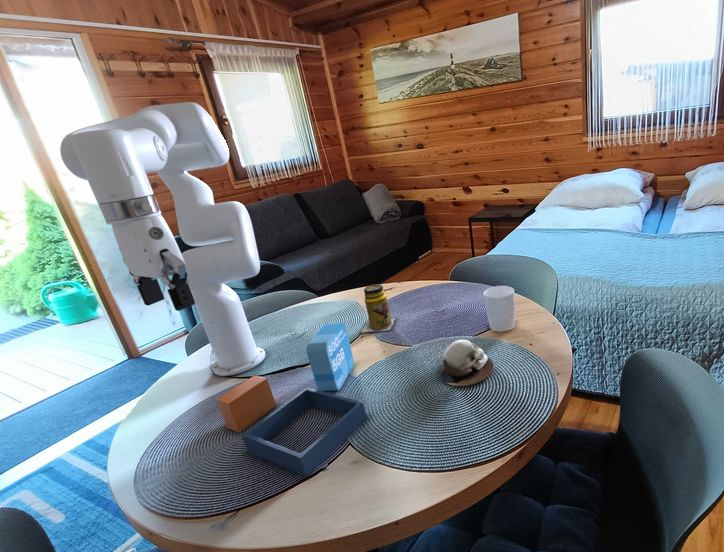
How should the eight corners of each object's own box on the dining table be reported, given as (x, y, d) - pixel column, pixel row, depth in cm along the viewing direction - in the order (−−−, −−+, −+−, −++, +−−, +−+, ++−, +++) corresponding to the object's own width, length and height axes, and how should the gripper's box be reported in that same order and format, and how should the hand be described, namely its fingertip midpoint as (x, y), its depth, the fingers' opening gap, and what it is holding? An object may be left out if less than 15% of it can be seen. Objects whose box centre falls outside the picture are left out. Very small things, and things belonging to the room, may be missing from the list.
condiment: (390, 330, 121) (382, 290, 116) (360, 333, 121) (351, 293, 117) (395, 318, 127) (387, 281, 123) (367, 321, 128) (358, 284, 124)
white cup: (504, 316, 120) (501, 283, 116) (523, 325, 114) (520, 290, 110) (481, 326, 116) (477, 292, 112) (500, 336, 110) (496, 300, 106)
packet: (227, 428, 88) (215, 399, 85) (264, 402, 95) (254, 375, 92) (239, 432, 86) (228, 403, 83) (276, 405, 93) (267, 378, 91)
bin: (248, 452, 80) (241, 435, 79) (311, 402, 93) (306, 387, 91) (306, 476, 73) (300, 458, 71) (367, 418, 85) (362, 402, 84)
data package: (338, 393, 95) (325, 345, 90) (318, 394, 95) (304, 347, 91) (354, 363, 106) (344, 319, 101) (337, 364, 106) (325, 321, 102)
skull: (472, 345, 105) (485, 326, 96) (492, 383, 101) (507, 367, 93) (428, 361, 99) (438, 343, 91) (447, 403, 95) (459, 388, 87)
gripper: (184, 203, 69) (219, 300, 76) (129, 205, 78) (165, 292, 84) (133, 215, 63) (176, 319, 70) (80, 215, 72) (122, 309, 78)
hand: (170, 304), depth 77 cm, fingers open, 9 cm apart
